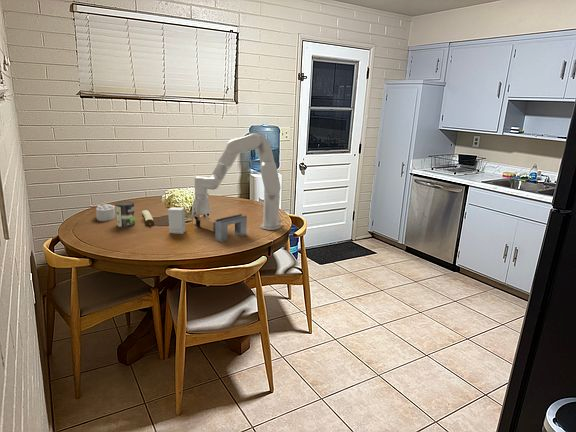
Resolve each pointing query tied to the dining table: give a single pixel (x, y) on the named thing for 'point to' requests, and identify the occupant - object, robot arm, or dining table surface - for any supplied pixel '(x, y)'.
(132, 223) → the coffee can
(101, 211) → the lumpy-topped squat cylinder
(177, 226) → the skincare box
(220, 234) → the grey arch-shaped block
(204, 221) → the plug
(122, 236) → the dining table surface
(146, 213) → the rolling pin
